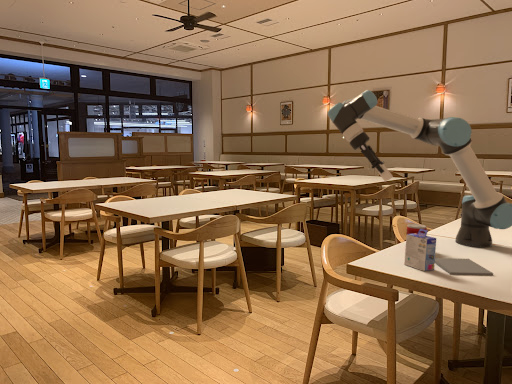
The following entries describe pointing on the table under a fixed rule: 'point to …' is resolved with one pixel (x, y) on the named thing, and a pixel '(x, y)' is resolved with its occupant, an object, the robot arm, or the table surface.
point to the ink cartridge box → (420, 251)
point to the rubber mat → (461, 266)
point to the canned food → (415, 228)
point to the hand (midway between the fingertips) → (389, 179)
